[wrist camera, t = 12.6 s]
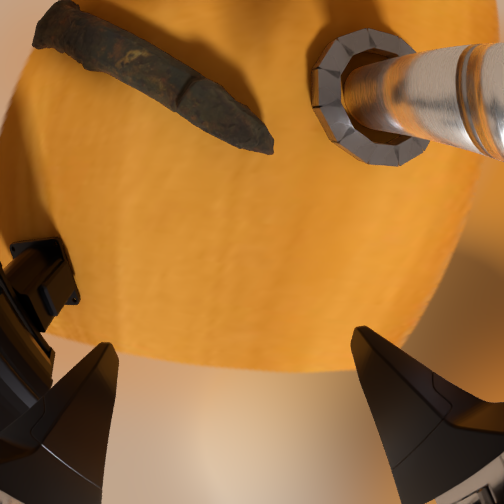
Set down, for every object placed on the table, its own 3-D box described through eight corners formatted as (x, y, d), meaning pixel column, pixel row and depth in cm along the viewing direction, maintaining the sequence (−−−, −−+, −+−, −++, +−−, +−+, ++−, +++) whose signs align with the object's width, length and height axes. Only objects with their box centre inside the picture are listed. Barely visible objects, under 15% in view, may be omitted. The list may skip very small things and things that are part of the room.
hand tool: (50, 49, 12) (15, 42, 8) (81, 7, 11) (51, -10, 7) (241, 179, 19) (246, 198, 15) (279, 135, 18) (295, 142, 14)
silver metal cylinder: (335, 115, 17) (484, 132, 6) (352, 54, 15) (495, 16, 4) (392, 139, 18) (536, 188, 7) (407, 83, 16) (551, 90, 5)
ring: (311, 158, 19) (318, 162, 17) (309, 24, 14) (315, 18, 13) (423, 166, 19) (434, 170, 18) (425, 52, 15) (436, 50, 13)
